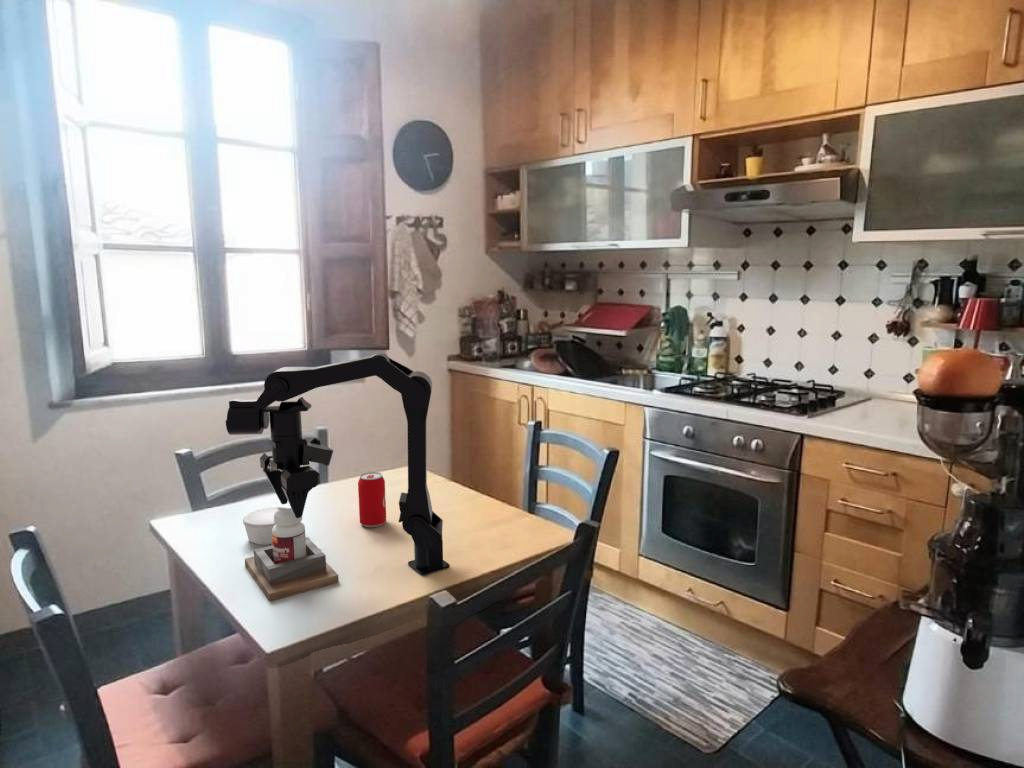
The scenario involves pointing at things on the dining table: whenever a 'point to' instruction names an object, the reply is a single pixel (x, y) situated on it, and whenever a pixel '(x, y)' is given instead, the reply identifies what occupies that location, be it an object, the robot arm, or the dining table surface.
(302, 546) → the pill bottle
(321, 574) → the socket board
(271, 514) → the ramekin
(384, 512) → the beverage can
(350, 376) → the robot arm
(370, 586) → the dining table surface
